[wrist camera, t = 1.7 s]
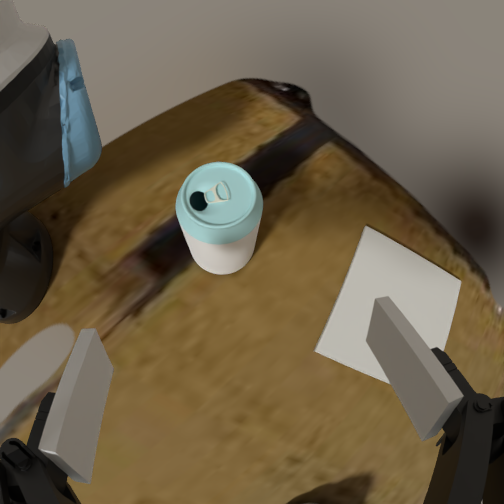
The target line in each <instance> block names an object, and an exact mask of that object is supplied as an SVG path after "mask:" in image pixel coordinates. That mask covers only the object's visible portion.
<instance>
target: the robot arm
mask: <svg viewBox="0 0 504 504" xmlns="http://www.w3.org/2000/svg"><path fill="white" fill-rule="evenodd" d="M101 152H102V144H101V140H100V136H99V133H98V129H97V125H96V122H95V119H94V115H93V112H92V108H91V104H90V101H89V98H88V94H87V90H86V87H85V85H84V80H83V76H82V72H81V67H80V63H79V59H78V55H77V51H76V47H75V44H74V41H73V40H71V39H66V40H59V41H58V42H56V44H54V43H53V41H52V39H51V36H50V34H49V31H48V29H47V28H46V27H45V26H42V25H35V24H30V23H24V22H23V21H22V20H21V19H20V17H19V15H18V12H17V10H16V7H15V5H14V3H13V0H0V323H5V324H12V323H17V322H19V321H21V320H23V319H25V318H26V317H28V316H29V315H30V314H31V313H32V312H33V311H34V310H35V308H36V307H37V306H38V304H39V303H40V301H41V300H42V298H43V296H44V294H45V292H46V289H47V286H48V284H49V280H50V276H51V271H52V263H53V251H52V244H51V239H50V236H49V233H48V231H47V229H46V228H45V226H44V225H43V223H42V222H41V221H40V220H38V219H37V218H36V217H35V216H33V215H32V214H31V213H30V212H28V210H29V209H31V208H32V207H34V206H35V205H37V204H38V203H40V202H41V201H43V200H44V199H46V198H48V197H49V196H51V195H52V194H54V193H55V192H57V191H59V190H60V189H62V188H66V187H67V186H69V184H70V182H71V181H73V180H74V179H75V178H77V177H78V176H80V175H81V174H83V173H84V172H86V171H87V170H89V169H91V168H92V167H93V166H94V165H95V164H96V163H97V161H98V159H99V158H100V155H101ZM366 342H367V344H368V346H369V347H370V349H371V351H372V352H373V354H374V356H375V357H376V359H377V361H378V363H379V364H380V366H381V368H382V370H383V371H384V373H385V375H386V377H387V378H388V380H389V382H390V384H391V385H392V387H393V389H394V391H395V392H396V394H397V396H398V398H399V400H400V401H401V403H402V405H403V407H404V409H405V411H406V412H407V414H408V416H409V418H410V420H411V422H412V423H413V425H414V427H415V429H416V431H417V433H418V435H419V437H420V439H421V440H422V441H424V440H426V439H429V438H431V437H433V436H435V435H437V434H438V432H439V431H440V430H441V428H443V430H444V432H445V433H444V434H443V436H442V437H441V438H440V439H439V441H438V442H437V444H436V446H438V445H439V444H440V443H441V446H440V450H439V454H438V458H437V461H436V465H435V468H434V472H433V475H432V479H431V482H430V485H429V488H428V491H427V494H426V497H425V500H424V503H423V504H481V501H482V496H483V504H504V397H500V398H493V399H490V398H489V397H488V396H487V395H484V394H480V393H477V394H476V392H475V391H474V390H473V389H472V387H471V386H470V385H469V383H468V382H467V380H466V379H465V378H464V376H463V375H462V374H461V372H460V371H459V370H457V367H456V366H455V364H454V363H452V360H451V359H450V358H449V356H448V355H447V354H446V353H445V352H444V351H442V350H441V349H439V348H438V347H435V348H432V349H430V348H429V347H428V346H427V344H426V343H425V342H424V340H423V339H422V338H421V336H420V335H419V334H418V332H417V331H416V330H415V329H414V327H413V326H412V325H411V323H410V322H409V321H408V320H407V318H406V317H405V316H404V315H403V313H402V312H401V311H400V310H399V308H398V307H397V306H396V305H395V303H394V302H393V301H392V300H391V299H390V297H389V296H386V297H380V298H375V301H374V306H373V311H372V315H371V320H370V325H369V329H368V333H367V337H366ZM113 371H114V368H113V366H112V364H111V362H110V360H109V358H108V356H107V353H106V351H105V349H104V347H103V345H102V342H101V340H100V338H99V335H98V333H97V331H96V329H82V330H81V332H80V334H79V337H78V339H77V341H76V343H75V346H74V348H73V351H72V353H71V355H70V358H69V360H68V363H67V365H66V368H65V370H64V373H63V376H62V378H61V381H60V383H59V386H58V389H57V392H56V393H51V392H48V394H47V395H46V396H45V397H44V399H43V400H42V401H41V404H40V407H39V409H38V412H37V415H36V418H35V419H36V420H35V421H34V424H33V427H32V430H31V433H30V436H29V439H28V442H27V445H25V444H24V443H23V442H22V441H21V440H19V439H17V438H10V439H7V440H6V441H5V442H4V443H3V444H2V446H1V447H0V459H1V460H0V504H81V503H80V501H79V500H78V498H77V496H76V495H75V493H74V491H73V490H72V488H71V486H70V485H69V484H68V483H67V476H69V477H70V478H71V479H73V480H74V481H77V482H82V483H88V484H91V477H92V471H93V465H94V459H95V453H96V447H97V442H98V437H99V432H100V427H101V422H102V417H103V412H104V408H105V403H106V399H107V395H108V391H109V386H110V382H111V378H112V374H113Z"/></svg>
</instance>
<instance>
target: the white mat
mask: <svg viewBox="0 0 504 504" xmlns="http://www.w3.org/2000/svg"><path fill="white" fill-rule="evenodd" d="M460 285H461V281H460V280H458V279H457V278H455V277H454V276H452V275H450V274H449V273H447V272H446V271H444V270H442V269H441V268H439V267H437V266H436V265H434V264H432V263H431V262H429V261H427V260H426V259H424V258H422V257H421V256H419V255H417V254H416V253H414V252H412V251H411V250H409V249H407V248H405V247H404V246H402V245H400V244H398V243H397V242H395V241H393V240H391V239H389V238H388V237H386V236H384V235H382V234H380V233H379V232H377V231H375V230H373V229H371V228H369V227H368V226H365V227H364V229H363V232H362V235H361V238H360V240H359V243H358V246H357V248H356V251H355V254H354V256H353V259H352V262H351V264H350V267H349V269H348V272H347V275H346V277H345V280H344V282H343V285H342V287H341V289H340V292H339V294H338V297H337V299H336V302H335V304H334V306H333V309H332V311H331V313H330V316H329V318H328V320H327V322H326V325H325V327H324V329H323V331H322V334H321V336H320V338H319V340H318V343H317V345H316V347H315V349H314V351H315V352H317V353H319V354H321V355H324V356H326V357H328V358H330V359H333V360H335V361H337V362H339V363H342V364H344V365H346V366H348V367H351V368H353V369H355V370H358V371H360V372H362V373H365V374H367V375H369V376H372V377H374V378H377V379H379V380H381V381H384V382H386V383H389V384H390V382H389V380H388V378H387V377H386V375H385V373H384V371H383V370H382V368H381V366H380V364H379V363H378V361H377V359H376V357H375V356H374V354H373V352H372V351H371V349H370V347H369V346H368V344H367V342H366V337H367V333H368V329H369V325H370V320H371V315H372V311H373V306H374V301H375V298H380V297H386V296H389V297H390V299H391V300H392V301H393V302H394V303H395V305H396V306H397V307H398V308H399V310H400V311H401V312H402V313H403V315H404V316H405V317H406V318H407V320H408V321H409V322H410V323H411V325H412V326H413V327H414V329H415V330H416V331H417V332H418V334H419V335H420V336H421V338H422V339H423V340H424V342H425V343H426V344H427V346H428V347H429V348H430V349H432V348H435V347H438V348H439V349H441V350H442V351H444V347H445V344H446V341H447V337H448V334H449V330H450V327H451V323H452V319H453V316H454V312H455V307H456V303H457V299H458V295H459V290H460Z"/></svg>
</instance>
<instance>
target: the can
mask: <svg viewBox="0 0 504 504" xmlns="http://www.w3.org/2000/svg"><path fill="white" fill-rule="evenodd" d="M262 211H263V199H262V194H261V192H260V189H259V187H258V186H257V184H256V183H255V181H254V180H253V179H252V178H251V176H250V175H249V174H248V173H247V172H246V171H245V170H244V169H242V168H241V167H239V166H237V165H234V164H231V163H227V162H213V163H208V164H205V165H203V166H200V167H199V168H197V169H195V170H194V171H193V172H192V173H191V174H190V175H189V176H188V177H187V178H186V180H185V182H184V184H183V185H182V187H181V188H180V190H179V193H178V196H177V200H176V214H177V217H178V220H179V223H180V225H181V228H182V231H183V233H184V236H185V238H186V241H187V244H188V246H189V249H190V251H191V254H192V256H193V258H194V260H195V261H196V263H197V264H198V265H199V266H200V267H201V268H203V269H204V270H206V271H208V272H211V273H214V274H230V273H233V272H236V271H238V270H239V269H241V268H242V267H244V266H245V265H246V264H247V263H248V261H249V260H250V258H251V256H252V254H253V251H254V247H255V242H256V238H257V233H258V229H259V225H260V220H261V216H262Z"/></svg>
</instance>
